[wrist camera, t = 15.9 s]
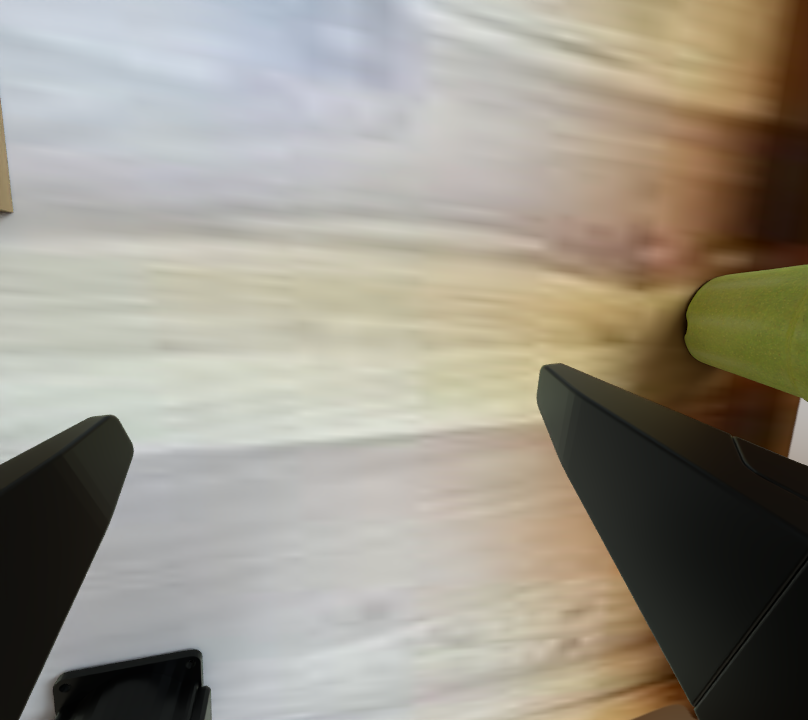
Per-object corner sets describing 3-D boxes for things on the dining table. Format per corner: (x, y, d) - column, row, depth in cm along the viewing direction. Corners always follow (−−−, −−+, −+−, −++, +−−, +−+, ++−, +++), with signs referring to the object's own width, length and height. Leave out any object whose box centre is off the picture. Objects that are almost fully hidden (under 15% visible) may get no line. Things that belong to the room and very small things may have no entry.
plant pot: (711, 410, 29) (878, 461, 21) (637, 339, 26) (799, 367, 18) (784, 305, 29) (979, 314, 21) (718, 221, 26) (918, 194, 18)
